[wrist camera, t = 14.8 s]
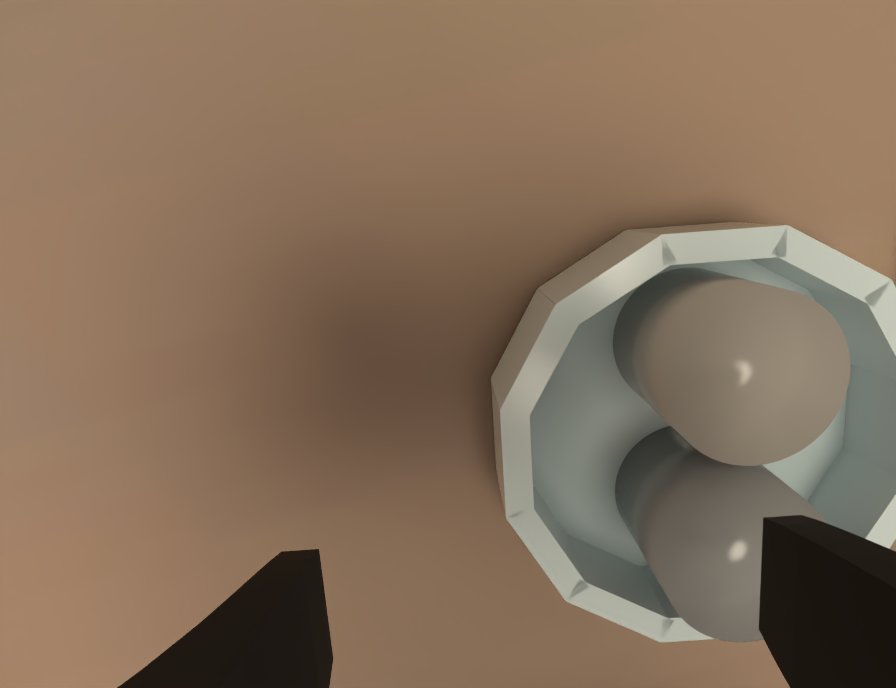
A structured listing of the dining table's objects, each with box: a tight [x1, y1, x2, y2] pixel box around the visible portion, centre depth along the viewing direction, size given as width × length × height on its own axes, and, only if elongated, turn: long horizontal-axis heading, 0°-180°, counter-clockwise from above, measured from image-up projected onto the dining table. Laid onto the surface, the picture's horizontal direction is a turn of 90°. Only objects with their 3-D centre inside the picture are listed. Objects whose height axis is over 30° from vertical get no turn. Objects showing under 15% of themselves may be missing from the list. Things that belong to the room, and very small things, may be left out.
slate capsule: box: [615, 426, 828, 642], centre depth 18 cm, size 4×4×5 cm
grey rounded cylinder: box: [613, 268, 850, 466], centre depth 17 cm, size 4×4×5 cm
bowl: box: [491, 222, 896, 643], centre depth 19 cm, size 12×12×3 cm
